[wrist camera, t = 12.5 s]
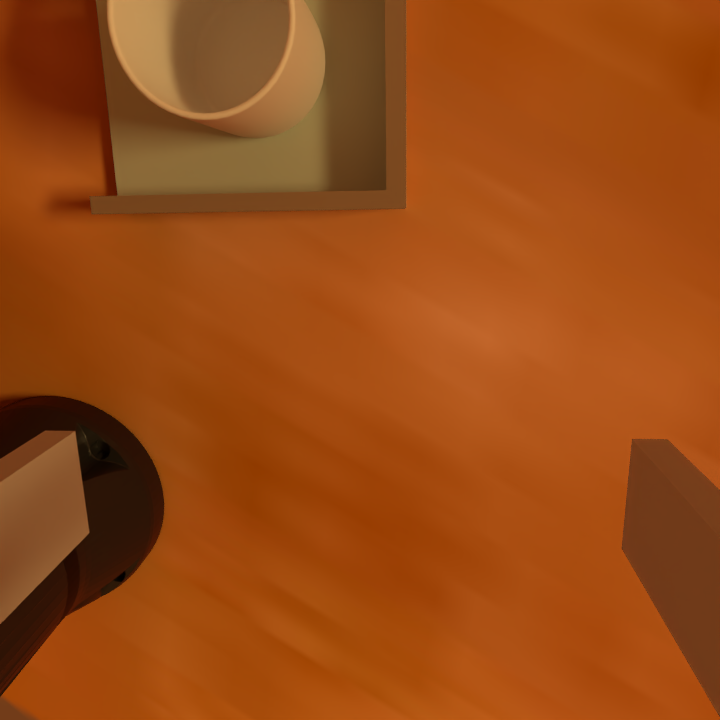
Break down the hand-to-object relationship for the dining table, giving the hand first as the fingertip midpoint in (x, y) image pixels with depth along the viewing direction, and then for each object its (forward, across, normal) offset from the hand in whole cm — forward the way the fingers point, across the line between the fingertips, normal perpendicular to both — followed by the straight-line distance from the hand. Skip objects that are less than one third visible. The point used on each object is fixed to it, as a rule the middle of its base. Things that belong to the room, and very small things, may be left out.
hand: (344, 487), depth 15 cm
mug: (+26, -9, +16) cm, 32 cm away
